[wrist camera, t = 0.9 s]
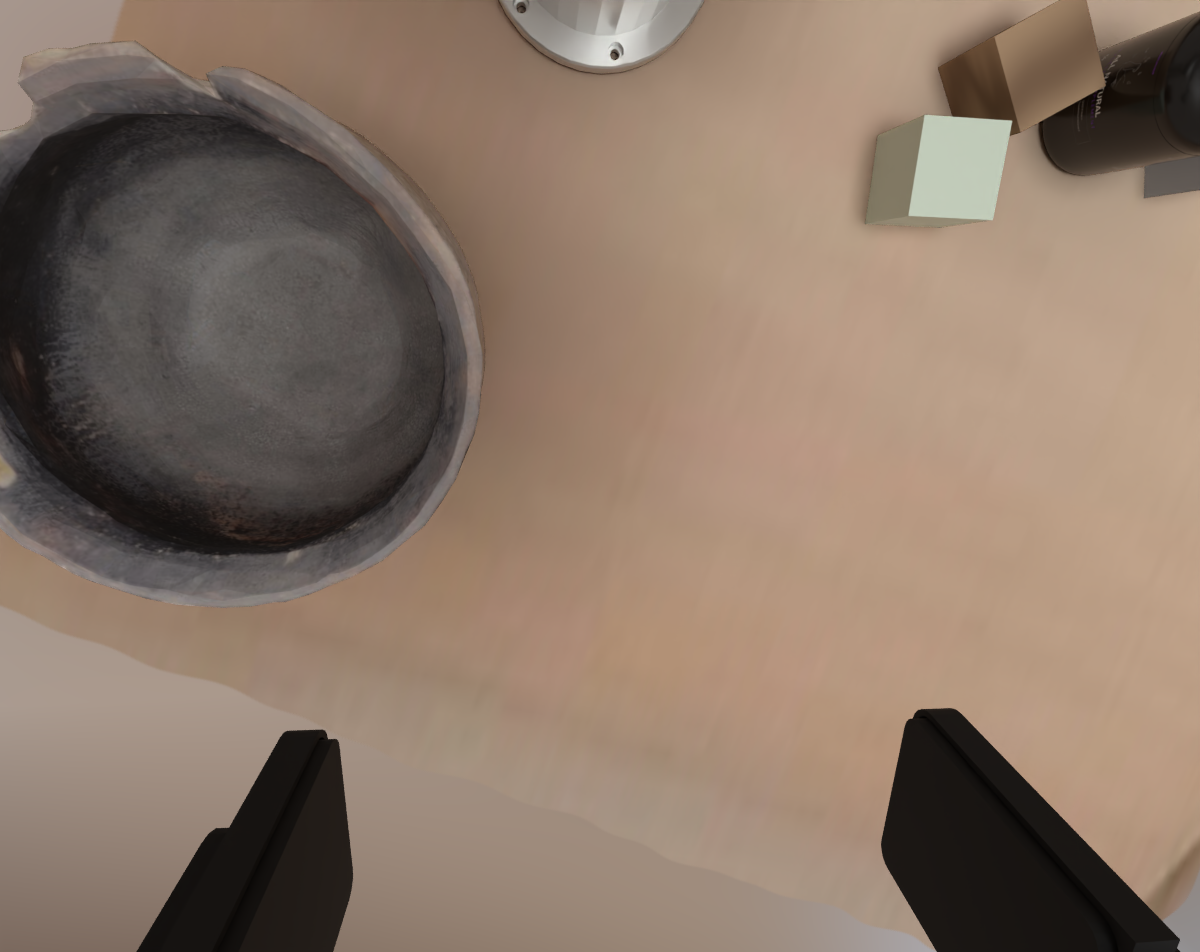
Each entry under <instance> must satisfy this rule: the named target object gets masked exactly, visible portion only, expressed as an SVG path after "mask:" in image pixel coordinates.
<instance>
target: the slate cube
mask: <svg viewBox="0 0 1200 952" xmlns="http://www.w3.org/2000/svg"><path fill="white" fill-rule="evenodd" d="M1197 190H1200V157H1195V158H1189V159H1184V160H1178V161H1172V162H1166V163H1161V164H1155V165H1149V166H1145V182H1144V198H1148V197H1155V196H1162V195H1169V194H1176V193H1183V192H1190V191H1197Z"/></svg>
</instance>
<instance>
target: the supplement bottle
mask: <svg viewBox="0 0 1200 952" xmlns="http://www.w3.org/2000/svg"><path fill="white" fill-rule="evenodd" d="M1098 53H1099V57H1100V62H1101V66H1102V71H1103V75H1104V79H1105V84H1106V86H1104V87H1103V88H1101V89H1099V90H1097V91H1095V92H1093V93H1092V94H1090V95H1088V96H1086V97H1084V98H1082V99H1081V100H1079V101H1077V102H1075V103H1073V104H1072V105H1070V106H1068V107H1066V108H1064V109H1062V110H1061V111H1059V112H1057V113H1055V114H1053V115H1051V116H1050V117H1048V118H1046V119H1044V120H1043V125H1042V132H1043V140H1044V144H1045V147H1046V150H1047V152H1048V154H1049V156H1050V157H1051V159H1052V160H1053V161H1054V163H1055V164H1056V165H1058V166H1059V167H1060V168H1061V169H1063V170H1065V171H1067V172H1069V173H1072V174H1076V175H1083V176H1085V175H1096V174H1103V173H1109V172H1115V171H1121V170H1127V169H1132V168H1138V167H1144V166H1149V165H1155V164H1161V163H1166V162H1172V161H1178V160H1184V159H1189V158H1195V157H1200V12H1197V13H1195V14H1192V15H1190V16H1187V17H1185V18H1182V19H1180V20H1177V21H1175V22H1172V23H1169V24H1167V25H1164V26H1162V27H1159V28H1157V29H1154V30H1152V31H1149V32H1147V33H1144V34H1142V35H1139V36H1137V37H1134V38H1132V39H1129V40H1126V41H1124V42H1121V43H1119V44H1116V45H1114V46H1111V47H1109V48H1106V49H1104V50H1102V51H1099V52H1098Z"/></svg>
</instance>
